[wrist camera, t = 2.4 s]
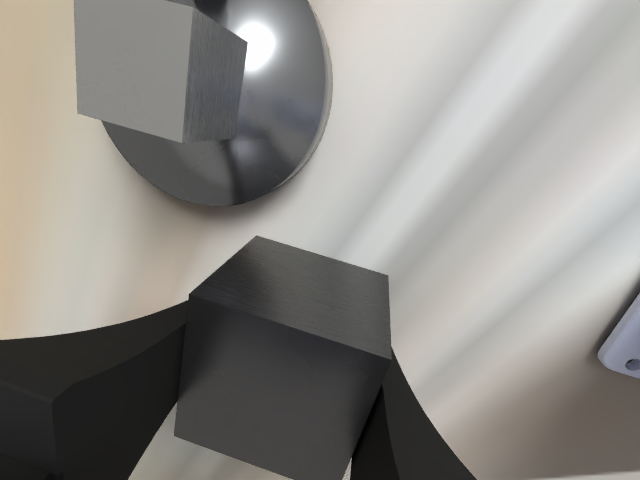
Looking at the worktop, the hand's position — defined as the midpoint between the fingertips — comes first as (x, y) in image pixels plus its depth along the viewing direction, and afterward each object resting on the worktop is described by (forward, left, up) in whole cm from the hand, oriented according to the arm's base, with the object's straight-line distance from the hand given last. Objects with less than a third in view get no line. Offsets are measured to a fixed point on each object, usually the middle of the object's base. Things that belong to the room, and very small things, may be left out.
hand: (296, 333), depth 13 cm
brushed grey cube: (0, 0, -2) cm, 2 cm away
